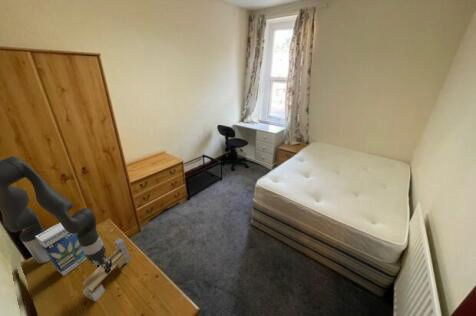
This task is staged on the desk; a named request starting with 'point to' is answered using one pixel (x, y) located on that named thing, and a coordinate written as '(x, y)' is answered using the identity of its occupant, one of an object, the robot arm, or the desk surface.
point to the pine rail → (101, 272)
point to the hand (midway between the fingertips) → (105, 270)
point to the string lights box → (62, 248)
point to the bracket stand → (125, 258)
